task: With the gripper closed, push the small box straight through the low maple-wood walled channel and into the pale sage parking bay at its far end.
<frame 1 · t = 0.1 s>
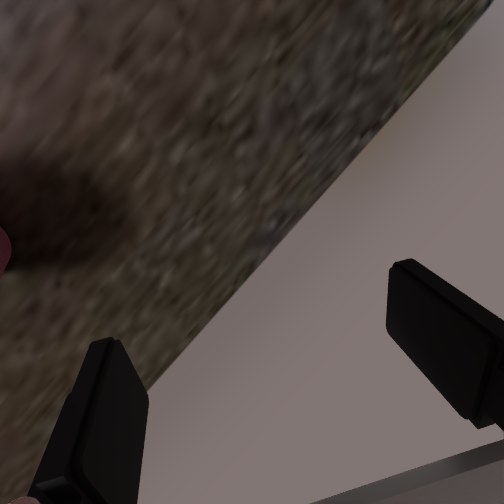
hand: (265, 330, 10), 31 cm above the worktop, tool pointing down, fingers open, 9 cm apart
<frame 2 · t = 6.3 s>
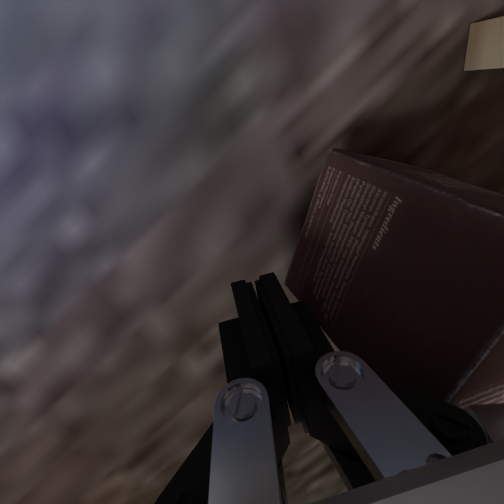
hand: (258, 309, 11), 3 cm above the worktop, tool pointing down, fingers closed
box: (352, 223, 13), on the worktop, touching gripper
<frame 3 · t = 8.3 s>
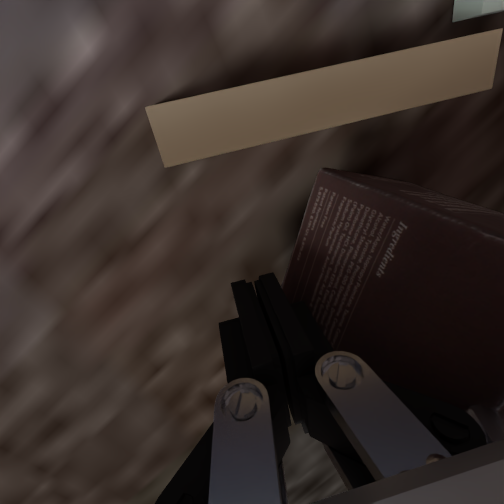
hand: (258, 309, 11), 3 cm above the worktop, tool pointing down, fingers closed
channel: (312, 236, 14), on the worktop
box: (340, 239, 13), point 1 cm above the worktop, touching gripper
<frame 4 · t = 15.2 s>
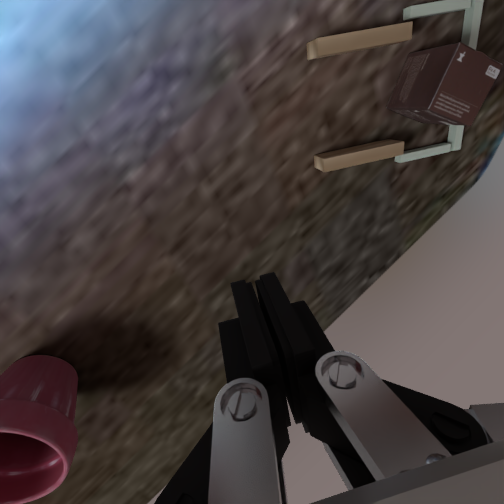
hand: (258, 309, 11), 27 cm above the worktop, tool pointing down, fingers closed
channel: (351, 102, 35), on the worktop
parking bay: (429, 87, 36), on the worktop
box: (414, 89, 36), on the worktop
plant pot: (44, 376, 44), on the worktop
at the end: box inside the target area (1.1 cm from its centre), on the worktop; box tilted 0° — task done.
